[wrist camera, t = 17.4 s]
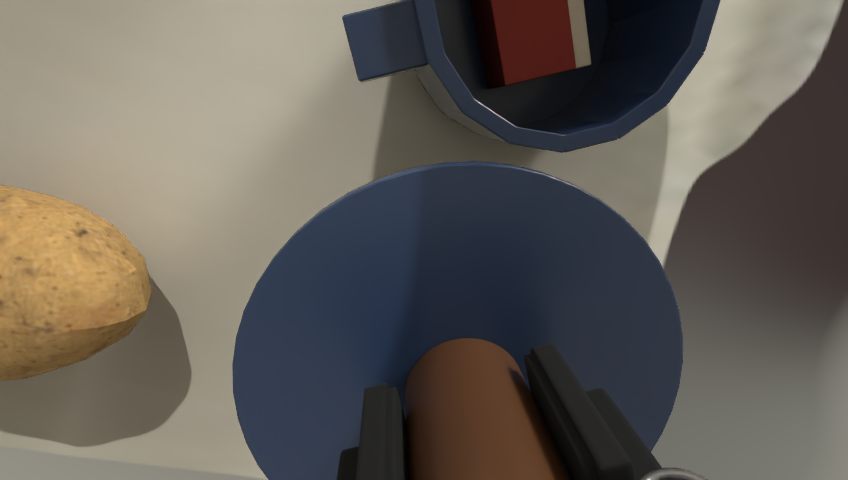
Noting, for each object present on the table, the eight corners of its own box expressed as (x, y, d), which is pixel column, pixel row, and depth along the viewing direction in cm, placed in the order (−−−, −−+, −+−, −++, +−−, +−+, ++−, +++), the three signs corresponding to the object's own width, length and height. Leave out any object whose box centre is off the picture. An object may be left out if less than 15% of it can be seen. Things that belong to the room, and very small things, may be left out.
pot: (332, -51, 23) (300, -135, 15) (654, -130, 23) (795, -257, 15) (388, 169, 27) (387, 196, 18) (671, 99, 27) (795, 95, 18)
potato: (190, 338, 29) (117, 423, 21) (-57, 324, 27) (-232, 409, 20) (184, 183, 26) (98, 215, 18) (-89, 159, 25) (-305, 182, 17)
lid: (175, 221, 12) (-119, 388, 5) (643, 107, 12) (990, 117, 5) (318, 566, 15) (260, 933, 9) (675, 480, 15) (899, 780, 9)
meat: (466, -21, 24) (482, -47, 20) (545, -40, 24) (577, -70, 20) (487, 89, 25) (505, 86, 21) (561, 71, 25) (593, 64, 21)
